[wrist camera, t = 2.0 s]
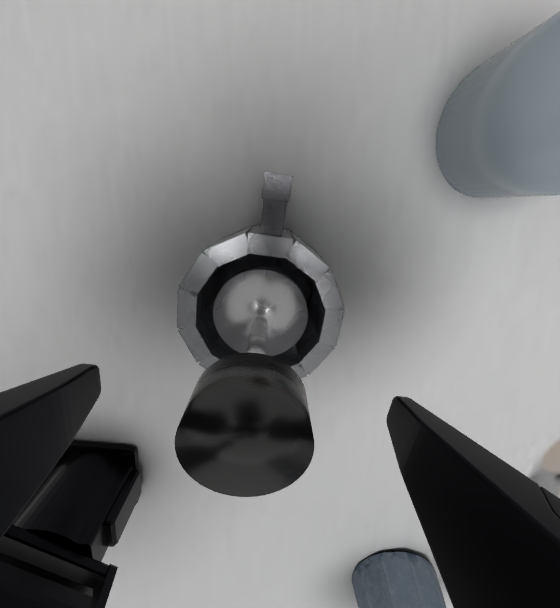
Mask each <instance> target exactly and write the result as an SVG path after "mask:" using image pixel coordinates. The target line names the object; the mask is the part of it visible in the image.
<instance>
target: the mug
mask: <svg viewBox="0 0 560 608" xmlns="http://www.w3.org/2000/svg"><path fill="white" fill-rule="evenodd" d="M436 154H437V160H438V164H439V167H440V170H441V172H442V174H443V176H444V177H445V179H446V180H447V182H448V183H449V184H450V185H451V186H452V187H453V188H454V189H455V190H457V191H459V192H460V193H462V194H465V195H467V196H470V197H475V198H498V197H525V196H552V195H560V12H558V13H557V14H555V15H554V16H552V17H551V18H549V19H548V20H546V21H545V22H543V23H542V24H540V25H539V26H537V27H536V28H535V29H533V30H532V31H530V32H529V33H527V34H526V35H524V36H523V37H521V38H520V39H518V40H517V41H515V42H514V43H512V44H511V45H510V46H508V47H507V48H505V49H504V50H502V51H501V52H499V53H498V54H496V55H495V56H493V57H492V58H490V59H489V60H487V61H486V62H485V63H483V64H482V65H480V66H479V67H477V68H476V69H474V70H473V71H472V72H471V73H470V74H469V75H467V76H466V77H465V78H464V80H463V81H462V82H461V83H460V84H459V85H458V86H457V88H456V89H455V90H454V92H453V93H452V95H451V97H450V98H449V100H448V102H447V104H446V106H445V108H444V110H443V112H442V115H441V118H440V121H439V125H438V129H437V136H436Z"/></svg>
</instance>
